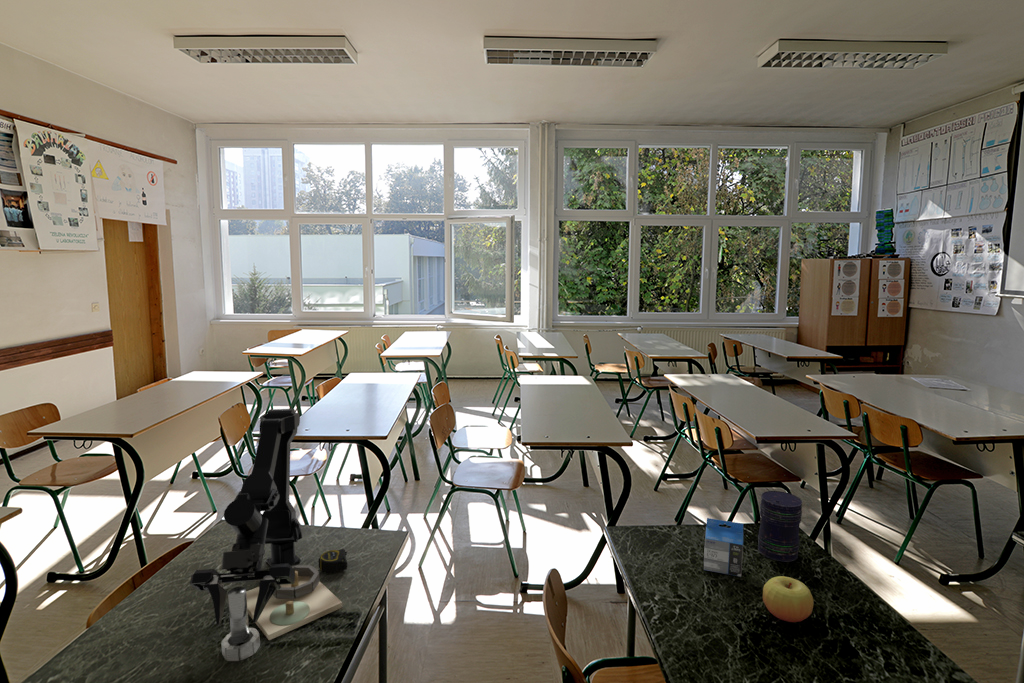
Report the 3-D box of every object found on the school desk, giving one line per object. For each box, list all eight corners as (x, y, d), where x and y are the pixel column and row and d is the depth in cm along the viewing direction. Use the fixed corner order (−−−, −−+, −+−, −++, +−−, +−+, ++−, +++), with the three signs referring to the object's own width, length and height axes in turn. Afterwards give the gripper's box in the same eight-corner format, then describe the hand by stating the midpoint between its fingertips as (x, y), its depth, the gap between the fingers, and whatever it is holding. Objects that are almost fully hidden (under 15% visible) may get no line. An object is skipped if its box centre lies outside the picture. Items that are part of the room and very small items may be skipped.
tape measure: (347, 574, 138) (347, 560, 138) (318, 578, 136) (317, 564, 136) (347, 560, 145) (346, 546, 144) (319, 564, 143) (318, 550, 142)
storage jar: (765, 539, 156) (769, 487, 153) (803, 551, 149) (808, 498, 147) (751, 552, 148) (755, 498, 146) (790, 566, 142) (795, 510, 140)
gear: (218, 649, 111) (214, 591, 110) (252, 634, 116) (248, 578, 114) (229, 665, 107) (224, 605, 105) (263, 650, 111) (259, 591, 109)
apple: (791, 634, 116) (794, 599, 115) (751, 609, 124) (754, 575, 123) (821, 620, 120) (824, 586, 119) (781, 596, 129) (783, 564, 128)
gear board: (237, 599, 128) (236, 581, 127) (306, 572, 139) (305, 555, 138) (268, 640, 114) (267, 620, 113) (342, 607, 125) (341, 588, 124)
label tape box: (703, 570, 140) (705, 524, 138) (704, 562, 144) (706, 517, 142) (741, 578, 136) (744, 530, 135) (741, 569, 140) (744, 523, 138)
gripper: (189, 532, 110) (169, 619, 101) (288, 526, 113) (277, 610, 104) (207, 550, 119) (190, 631, 110) (299, 543, 122) (290, 622, 113)
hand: (236, 623), depth 109 cm, fingers open, 6 cm apart
